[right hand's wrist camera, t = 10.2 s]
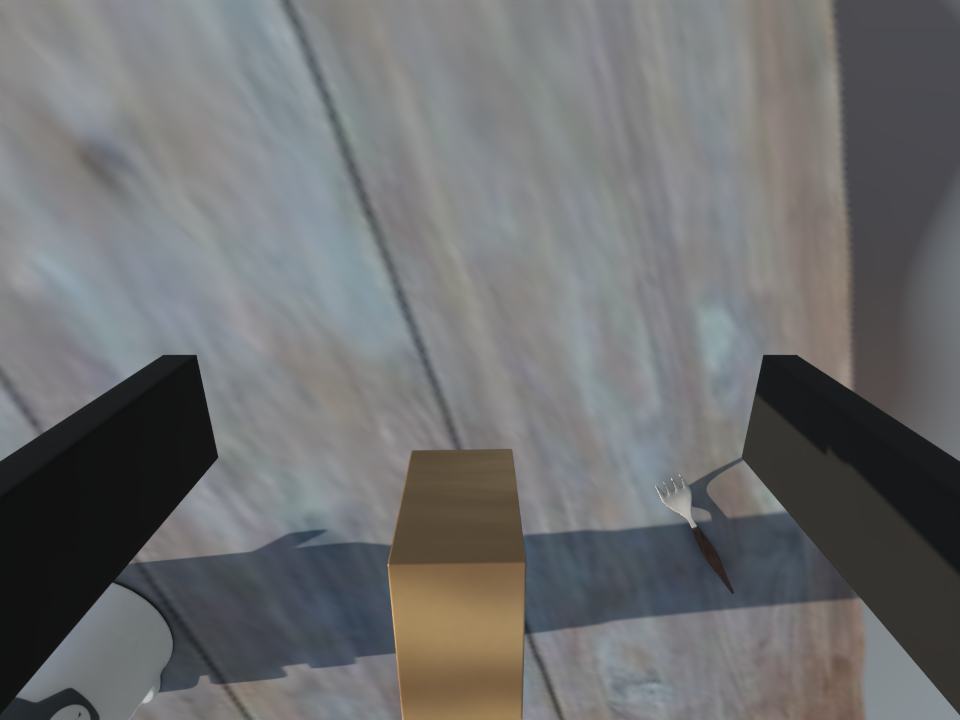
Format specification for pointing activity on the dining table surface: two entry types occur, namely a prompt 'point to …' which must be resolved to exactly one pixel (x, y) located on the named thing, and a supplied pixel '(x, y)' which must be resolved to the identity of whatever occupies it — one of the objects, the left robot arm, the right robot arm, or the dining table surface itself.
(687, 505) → the fork
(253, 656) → the dining table surface
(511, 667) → the bar
